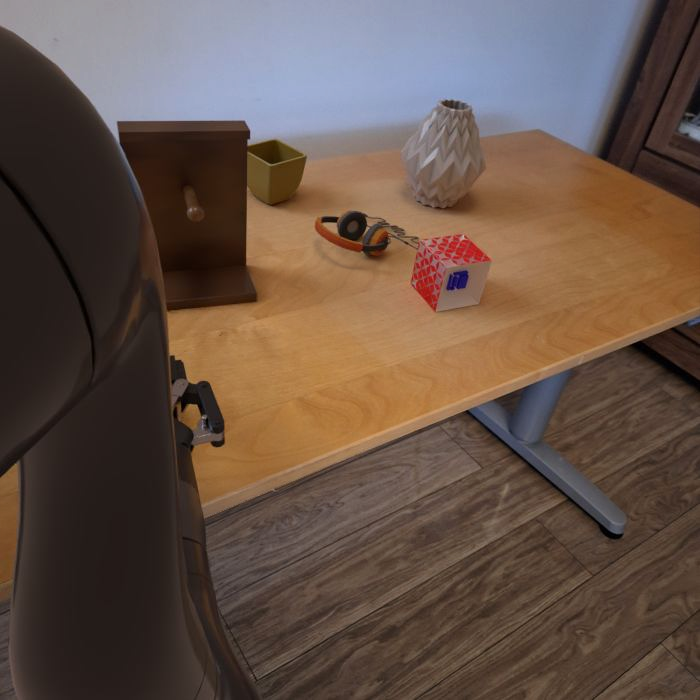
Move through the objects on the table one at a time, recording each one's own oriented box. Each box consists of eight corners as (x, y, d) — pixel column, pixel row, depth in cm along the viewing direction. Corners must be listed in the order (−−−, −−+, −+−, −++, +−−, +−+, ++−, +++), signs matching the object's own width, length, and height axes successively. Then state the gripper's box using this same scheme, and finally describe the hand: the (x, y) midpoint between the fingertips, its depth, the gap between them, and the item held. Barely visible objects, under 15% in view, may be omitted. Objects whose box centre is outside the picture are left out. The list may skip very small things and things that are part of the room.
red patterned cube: (452, 276, 101) (463, 234, 96) (478, 304, 96) (492, 260, 91) (409, 283, 98) (419, 239, 93) (434, 312, 93) (445, 267, 88)
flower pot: (305, 201, 116) (308, 154, 110) (269, 213, 110) (271, 165, 105) (274, 183, 120) (276, 137, 114) (238, 194, 115) (238, 147, 109)
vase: (420, 174, 132) (438, 84, 120) (488, 202, 125) (514, 109, 113) (377, 196, 121) (392, 99, 109) (449, 227, 114) (473, 128, 102)
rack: (141, 313, 84) (121, 152, 70) (135, 273, 91) (116, 119, 77) (257, 301, 89) (261, 149, 75) (242, 264, 96) (243, 118, 82)
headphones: (446, 237, 105) (366, 242, 92) (435, 265, 108) (356, 274, 94) (378, 198, 114) (297, 198, 101) (370, 224, 117) (289, 228, 103)
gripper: (246, 462, 45) (208, 326, 57) (29, 503, 41) (36, 345, 52) (245, 523, 50) (210, 385, 62) (50, 566, 45) (52, 408, 57)
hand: (130, 367), depth 57 cm, fingers closed on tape, 6 cm apart
